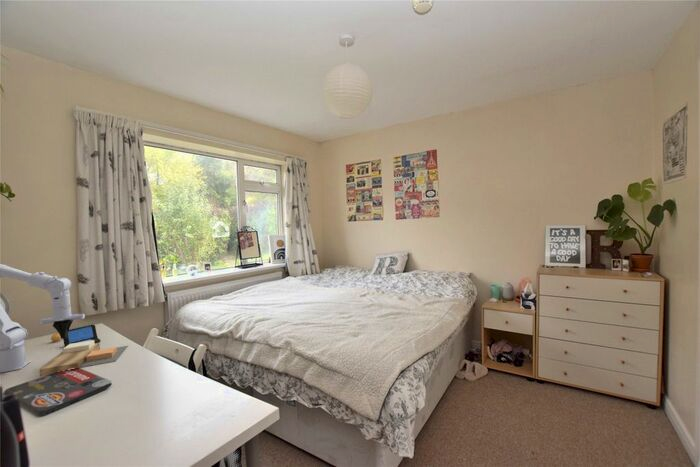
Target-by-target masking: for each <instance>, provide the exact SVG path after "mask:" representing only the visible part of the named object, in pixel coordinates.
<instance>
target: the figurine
mask: <svg viewBox="0 0 700 467" xmlns="http://www.w3.org/2000/svg"><path fill="white" fill-rule="evenodd" d="M50 340H51V341H52V342H57V343H58V342H59V341H61V340H62V339H61V337H60V335H59V333H58V331H56V332H55V333H54V334H52V335H51V338H50Z"/></svg>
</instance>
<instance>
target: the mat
mask: <svg viewBox="0 0 700 467" xmlns="http://www.w3.org/2000/svg"><path fill="white" fill-rule="evenodd" d="M128 347H129V345H123V346H117V352H116V353H115V354H114V355H113V357H108V358H103V359H97V360H91V361H85V362H84V363H83V364H82V365H81V366H80V368H79V369H81V368H87V367H92V366H97V365H103V364H108V363H114V362H117V360H118V359H119V358H120V357H121V355H123V353H124V352H125V351H126V349H127V348H128Z"/></svg>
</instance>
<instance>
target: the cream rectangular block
mask: <svg viewBox="0 0 700 467" xmlns="http://www.w3.org/2000/svg"><path fill="white" fill-rule="evenodd" d="M94 344H96V343H94V340H92V341H85V342H79V343H73V344H69V345H68V346H66V347H64V348H63V349H62V352H63V353H69V352H76V351H82V350H88V349H90V348H91V347H92V346H93V345H94Z"/></svg>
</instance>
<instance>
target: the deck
mask: <svg viewBox="0 0 700 467" xmlns="http://www.w3.org/2000/svg"><path fill="white" fill-rule="evenodd" d="M100 343H101V342H99V343H95V344H94V345H93V346H92V347H91V348H90V349H88V350H82V351H76V352H69V353H63V351H61V352H60V353H59V354H58V355H56V356H55V357H53V358H52V359H51V360H49V361H48V362H47V363H46V364H44V365H43V366H42V367H41V368H39V371H38V372H39V376H40V377H41V376H45V375H46V376H47V375H51V374H57V373H56V372H58V371H62V370H65V369H69V368H73V367H76V368H79V369H81V368H80V366H81V365H82V364H83V363H84V362H85V361H86V356H87V355H88V354H89V353H90V352H91V351H96V350H101V344H100ZM58 373H59V372H58Z"/></svg>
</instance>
